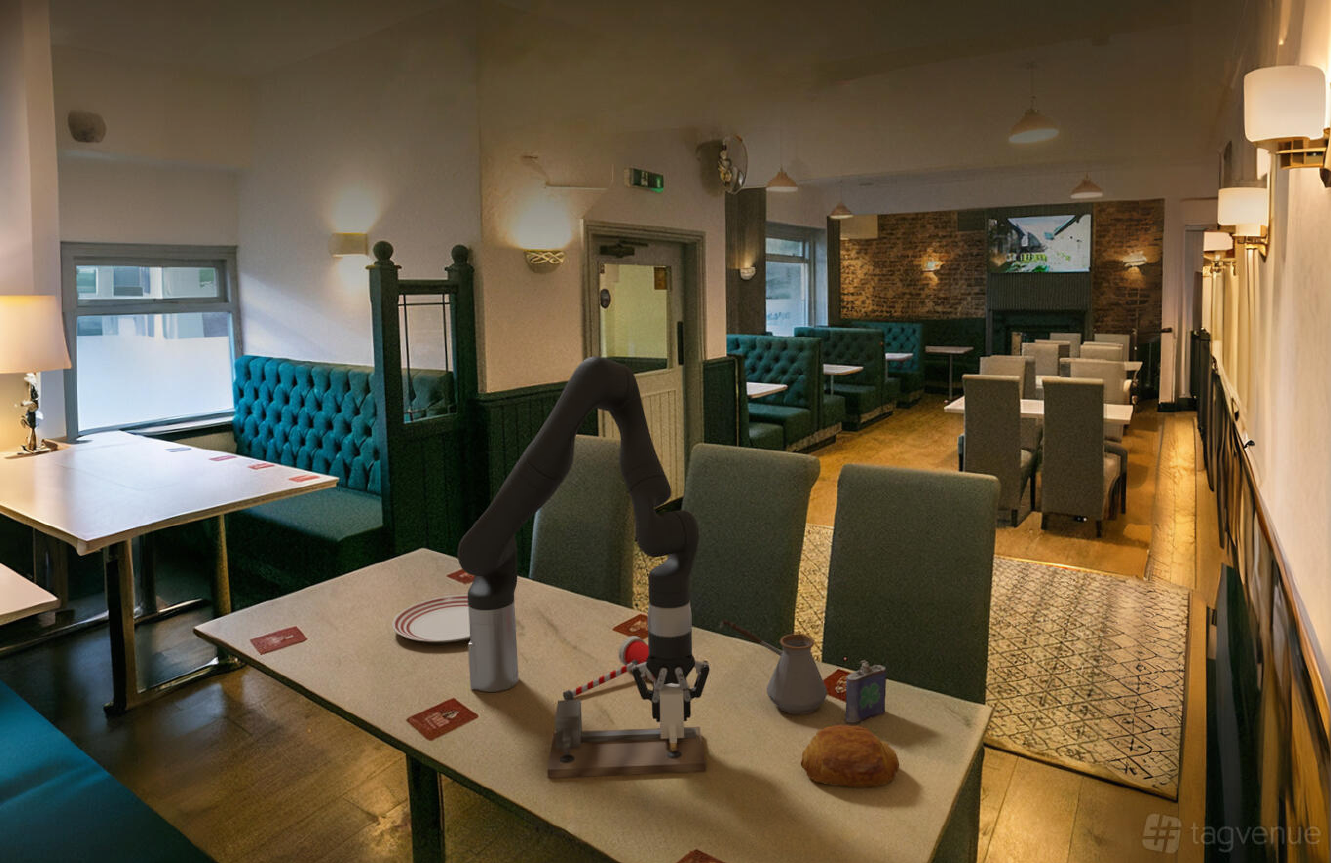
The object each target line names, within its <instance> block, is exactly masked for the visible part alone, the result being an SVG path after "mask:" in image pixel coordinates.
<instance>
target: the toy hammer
mask: <svg viewBox="0 0 1331 863" xmlns="http://www.w3.org/2000/svg"><path fill="white" fill-rule="evenodd" d="M648 655H649V651H648V644H647V643H646V641H645V640H644V639H642V638H640V637H639V636H636V635H633V636H632V635H631V636H629V637H627V638H625V640H623V641H622V643H621V644H620V647H619V649H618V658H619V661H620V663H621V664H622V665H623V666H621V667H619V668H617V669H615V670H613V671H610V672H608V673H606V674H604V675H602V676H599V677H598V678H596V679H593V680H591V681H589V682H587V683H585V684H583V685H582V684H581V685H580V686H578V687H576V688H574V689H572V690H570V689H568V690H566V691H564V692H563V693H562V697H563V699H564V700H574V698H575V697H577V696H580V695H581V694H583V693H585V692H588V691H590V690H592V689H594V688H596V687H598V686H601V685H602V684H604V683H606V682H609V681H610V680H612V679H616V678H618V677H619V676H621V675H623V674H626V673H628V672H630V671H632V665H633V664H634V663H637V664H641V663H644V662H646V659H647V658H648ZM645 676H646V677H647V679H649V680H650V681H651V682H653V683H654V680H655V677H654V676H653V675H652V674H651V672H650V671H649V670H648V669H646V670H645Z"/></svg>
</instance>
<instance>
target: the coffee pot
mask: <svg viewBox="0 0 1331 863" xmlns="http://www.w3.org/2000/svg"><path fill="white" fill-rule="evenodd" d="M723 625H726V626H729V627H730V630H735V631H736V632H737V633H739V634H740V635H741V636H743V637H745V638H747V639H749V640H751V641H752V642H755V643H757V644H759V645H761V646H763V647H765V648H766V649H767V650H770V651H771V652H773V653H774V654H776V655H778V656H780V658H779V659H778V661H777V664H776V666H775V668H774V670H773V673H772V675H771V677H770V680H769V681H768V683H767V687H766V694H767V696H768V698H769V700H770V701H771V702H772V704H774V705H775V706H776V707H777V708H778V709H779V710H781V711H783V712H785V713H788V714H793V715H794V714H795V715H804V714H809V713H812V712H814V711H815V710H816V709H817V708H819V707H820V706H821V705H822V704H824V702H825V700H826V699H827V695H828V690H827V687H826V684H825V682H824V680H823V677H822V675H821V673H820V670H819V668H818V666H817V663H816V661H815V659H814V656H813V654H812V652H811V651H812V647H814V645H815V640H814V639H813V638H812V637H810V636H808V635H805V634H802V633H801V634H799V633H798V634H796V633H795V634H788V635H785V636H783V637H780V640H779V643H780V645H781V647H782V650H781V649H779V648H777V647H775V646H773V645H771V644H769V643H768V642H765V641H763V639H761V638H760V637H758V636H756V635H755V634H753V633H752V632H750V631H749V630H747V629H745V628H742V627H740V626H738V625H736V623H734V622H733V623H731V622H730V621H729V620H727V619H724V618H722V620H721V622H720V624H719V626H718V629H721V628H722V627H723Z"/></svg>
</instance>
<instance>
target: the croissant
mask: <svg viewBox="0 0 1331 863" xmlns="http://www.w3.org/2000/svg"><path fill="white" fill-rule="evenodd" d="M801 756H802V757H801V760H800V766H801V768H802V769H803V770H804V772H806V773H805V774H806V777H808V779H810V780H813V782H814V781H815V783H820V784H825V785H829V786H841V787H861V788H869V787H870V788H871V787H876V786H878V787H879V786H884V785H885V784H889V783H890V781H892V780H894V779H895V777H896V773H898V771H899V768H900V762H899V758H898V756H897V753H896V751H895V750H894V749H892V748H891V747H890V746H889V744H888V743H886V742H884V741H883V740H880V738H878V736H876V735H875V734H873V733H872V731H871V730H870V729H868V728H866V727H862V726H859V725H850V724H836V725H832V726H831V725H830V726H826V727H824V728H822V729H820V730H818V731H817V732H816V735H814V736H812V739H811V740H810V742H809V743H808V745H806V748H805V749H804V750H803V751H802V753H801Z"/></svg>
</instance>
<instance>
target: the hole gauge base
mask: <svg viewBox="0 0 1331 863" xmlns="http://www.w3.org/2000/svg"><path fill="white" fill-rule="evenodd" d="M554 715H555V716H554V719H555V721H554V722H555V723H554V724H555V731H554V732H553V734H552V735H553V736H552V741H551V747H550V753H549V760H548V764H547V771H546V772H547V779H551V778H552V779H553V778H554V779H555V778H556V779H557V778H578V777H601V776H602V777H604V776H625V775H626V776H629V775H649V774H650V775H652V774H673V773H674V774H679V773H698V772H699V773H700V772H701V773H702V772H703V773H704V772H706V766H707V765H706V759H705V752H704V747H703V745H704V744H703V739H702V735H701V734H702V733H701V728H700V727H701V726H684V738H677V743H676V751H671V750H670V739H669V738H667V739H661V733H660V727H654V728H653V727H652V728H632V729H631V728H630V729H627V728H626V729H607V730H605V729H604V730H583V727H582V726H583V725H582V721H583V720H582V700H581V699H572V700H565V699H564V700H563V699H561V700H557V705H556V710H555V714H554Z"/></svg>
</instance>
